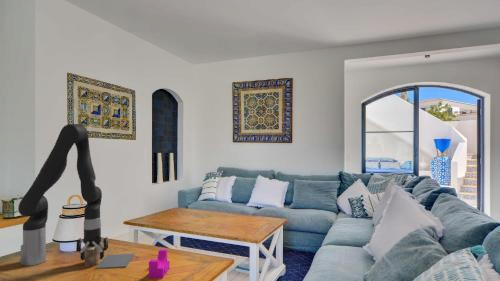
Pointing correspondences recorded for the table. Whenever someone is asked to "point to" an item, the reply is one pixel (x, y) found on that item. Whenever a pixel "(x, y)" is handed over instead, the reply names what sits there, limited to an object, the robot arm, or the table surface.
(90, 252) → the slab
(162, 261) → the toy block
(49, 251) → the table surface
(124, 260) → the mat
